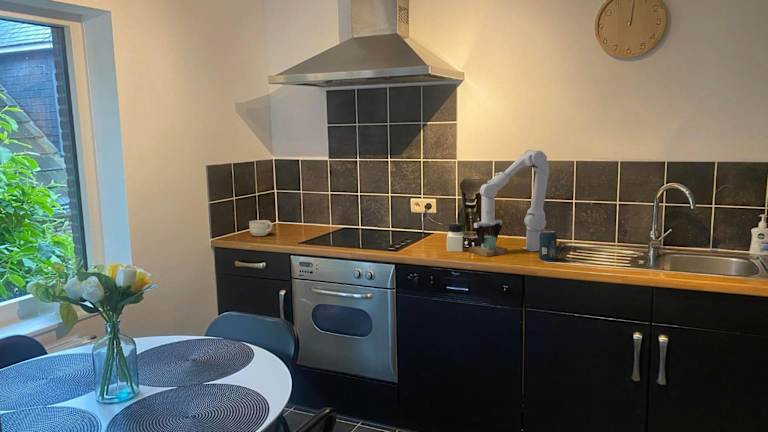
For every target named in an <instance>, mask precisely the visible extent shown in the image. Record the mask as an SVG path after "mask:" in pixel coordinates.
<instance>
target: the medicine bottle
mask: <svg viewBox="0 0 768 432" xmlns="http://www.w3.org/2000/svg"><path fill="white" fill-rule="evenodd" d="M464 249H465V234H464V233H463V225H462V224H461V223H450V224H449V225H448V233H447V236H446V252H447V253H448V252H449V253H463V252H464Z"/></svg>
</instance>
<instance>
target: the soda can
mask: <svg viewBox="0 0 768 432" xmlns="http://www.w3.org/2000/svg"><path fill="white" fill-rule="evenodd" d="M557 245H558V235H557V233H556V230H553V229H552V230H551V229H546V230H542V231H541V233H540V235H539V251H538V257H539V259H540V261H543V262H554V261H556V259H557V255H558V254H557V253H558V252H557V247H558V246H557Z"/></svg>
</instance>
